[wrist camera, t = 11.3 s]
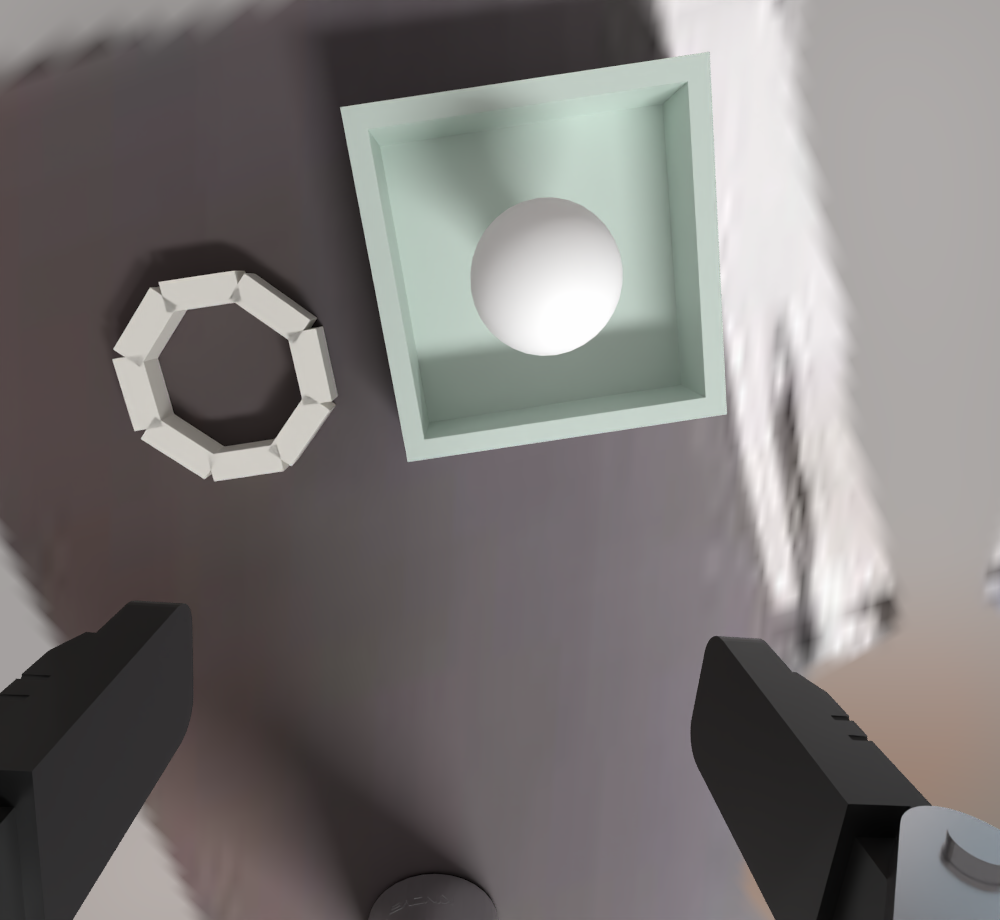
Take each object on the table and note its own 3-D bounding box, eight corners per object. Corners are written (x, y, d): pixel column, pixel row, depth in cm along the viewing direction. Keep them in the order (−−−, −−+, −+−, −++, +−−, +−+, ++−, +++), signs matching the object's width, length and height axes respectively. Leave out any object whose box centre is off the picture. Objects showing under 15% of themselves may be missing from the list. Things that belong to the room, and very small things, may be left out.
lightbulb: (453, 238, 33) (445, 224, 23) (567, 197, 33) (612, 162, 22) (493, 352, 35) (502, 388, 24) (601, 313, 35) (659, 332, 24)
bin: (696, 397, 37) (726, 414, 32) (415, 439, 37) (407, 461, 32) (677, 81, 32) (709, 51, 28) (357, 129, 32) (340, 107, 28)
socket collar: (350, 453, 37) (345, 461, 35) (166, 481, 37) (152, 490, 35) (308, 261, 34) (300, 260, 32) (108, 291, 34) (91, 292, 32)
